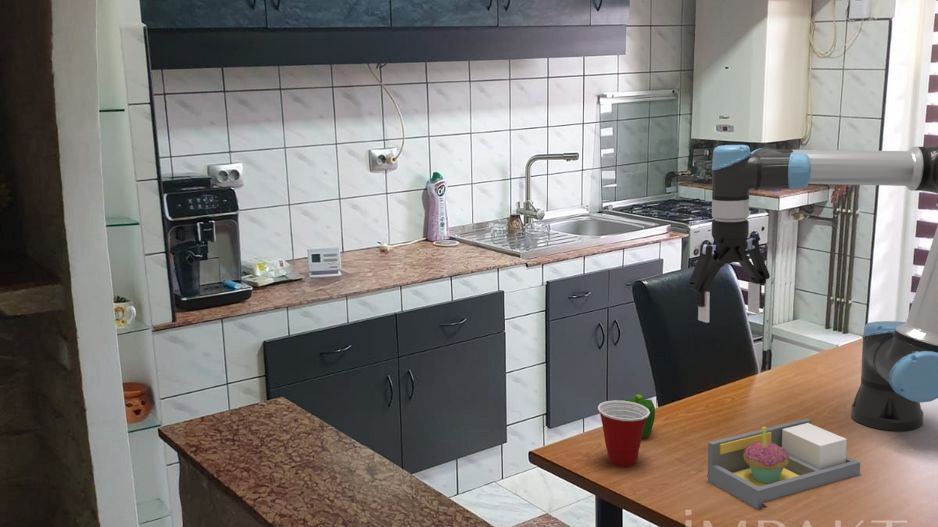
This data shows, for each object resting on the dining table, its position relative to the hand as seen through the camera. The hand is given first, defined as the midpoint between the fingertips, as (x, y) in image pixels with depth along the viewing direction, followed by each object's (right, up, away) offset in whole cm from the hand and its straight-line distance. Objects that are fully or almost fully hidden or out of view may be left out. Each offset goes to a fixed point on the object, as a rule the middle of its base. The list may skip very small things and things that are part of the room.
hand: (728, 316), depth 191 cm
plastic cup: (-23, -31, -3) cm, 39 cm away
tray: (+6, -32, -15) cm, 36 cm away
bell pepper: (-18, -28, +11) cm, 35 cm away
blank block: (+13, -30, -12) cm, 35 cm away
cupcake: (+2, -31, -17) cm, 35 cm away
